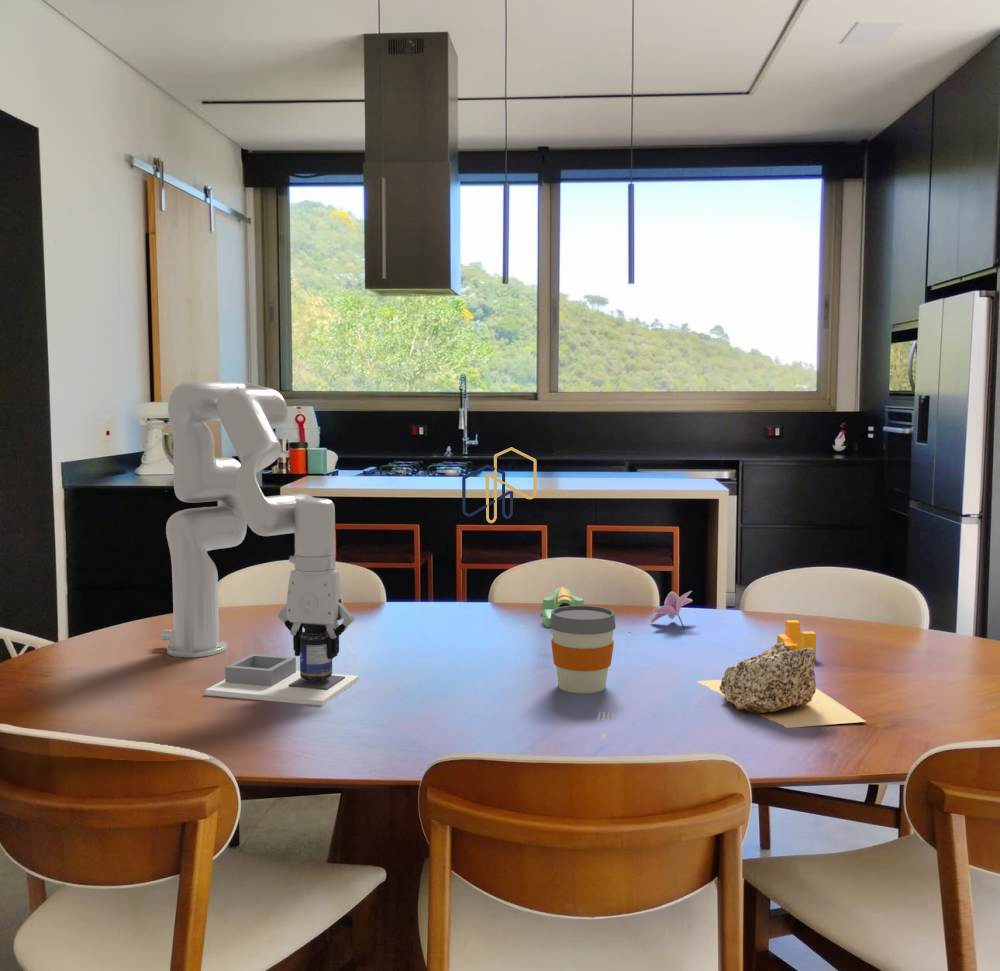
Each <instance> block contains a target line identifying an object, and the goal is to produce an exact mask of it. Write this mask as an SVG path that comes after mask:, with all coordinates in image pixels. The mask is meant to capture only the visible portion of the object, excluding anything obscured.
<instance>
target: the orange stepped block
mask: <svg viewBox="0 0 1000 971" xmlns="http://www.w3.org/2000/svg"><path fill="white" fill-rule="evenodd" d="M784 628H785V629H784V631H785V632H784V634H783V633H782V634H776V635H777V636H776V637H777V638H776V644H778V643H779V642H781V643H784V644H785V645H786V646H788V647H790V649H791V650H794V651H795V650H801V649H803V648H806V647H808V648H814V650H815V651H817V650H816V649H817V633H816V632H815V631H811V630H810V631H809V630H808V631H807V630H806V631H801V623H800V621H799V620H795V619H794V620H793V619H791V620H790V619H789V620H788V619H787V620H785V626H784ZM815 655H817V652H815Z"/></svg>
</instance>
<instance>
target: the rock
mask: <svg viewBox="0 0 1000 971" xmlns="http://www.w3.org/2000/svg"><path fill="white" fill-rule="evenodd" d="M816 651H817V650H816ZM816 651H815V650H814V648H808V647H806V648H803V649H801V650H795V651H794V650H791V649H790V647H788V646H786V645H785V644H784V643H781V642H779V643H778V644H777V643H776V644H774V645H773V646H771V647H769V648H768V649H765V651H763V652H761V653H760V654H758V655H756V656H752V657H750V658H745V659H744V660H741V661H738V662H737V664H736V663H735V664H733V665H730V666H728V667H727V668H726V669H725V672H723V673H724V674H723V675H724V676H723V677H722V678H721V679H710V680H697V681H696V682H697V683H699V684H701V685H703V686H704V687H705V686H706V688H708V689H710V691H714V692H716V693H718V694H720V695H721V697H725V698H726V701H727V702H730V703H732V704H734V707H735V708H736V709H737V710H743V711H747V713H749V714H755V715H759V716H761V717H762V718H763V719H765V718H767V721H771V722H775V723H777V724H779V725H781V724H782V725H781V726H783V725H784V726H783V727H785V728H786V729H789V728H790V729H791V728H801V727H802V728H804V727H814V726H816V727H817V726H826V725H827V726H829V725H838V724H854V723H856V724H857V723H865V722H867V720H865V719H864V718H862V717H860V716H859V715H857V714H856V713H854V712H853V711H852V710H850V709H848V708H847V707H846V706H844V705H842V704H841V703H839V702H837V700H835V699H833V698H832V697H830V696H828V694H826V693H824V692H823V691H822V690H819V689H818V688H817V686H816V674H815V661H816V657H817V656H816V655H817V654H816V655H815V652H816ZM816 653H817V652H816ZM760 713H761V714H760Z"/></svg>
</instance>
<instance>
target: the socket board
mask: <svg viewBox="0 0 1000 971" xmlns="http://www.w3.org/2000/svg"><path fill="white" fill-rule="evenodd" d="M296 658H297V656H294V657H293V656H284V655H283V656H282V655H269V654H257V653H250V654H249V655H247V656H246V655H245V656H244V657H241V658H240V659H238V660H236V661H234V662H232V663H231V664H228V665H227V666H225V667H224V669H225V670H224V671H225V675H224V676H225V678H224V679H222V680H221V681H219V682H217V683H215V684H214V685H212V686H210V687H208V688H206V689H205V696H209V697H210V696H211V697H212V696H213V697H222V698H223V697H224V698H234V699H245V700H254V701H256V700H257V701H266V702H267V701H268V702H278V703H279V702H280V703H289V704H300V705H312V706H322V707H324V705H326V704H327V703H329V702H330V701H332V700H333V699H334V698H335V699H336V697H338V696H339V695H340V694H342V693H343V692H345V691H347V690H348V689H349V688H351V687H352V686H353V685H355V684H356V683H358V682H360V676H359V675H352V674H351V675H350V674H341V673H332V675H331V676H330V677H329V678H327V679H323V680H306V679H303V678H302V677H301V676H300V670H297V667H296V665H297V664H296V663H297V660H296Z"/></svg>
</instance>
